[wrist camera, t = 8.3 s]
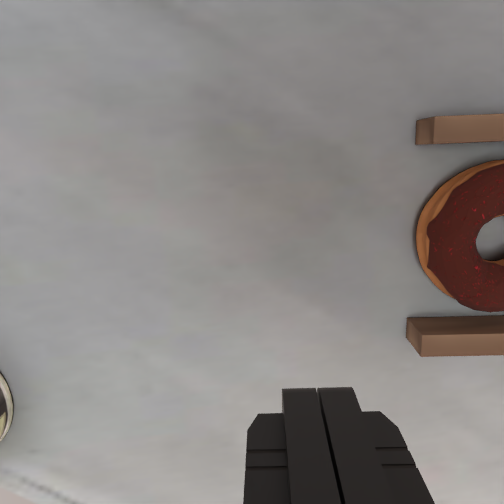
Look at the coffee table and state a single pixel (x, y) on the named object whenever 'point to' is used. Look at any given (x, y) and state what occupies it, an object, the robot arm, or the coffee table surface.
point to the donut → (464, 237)
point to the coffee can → (5, 408)
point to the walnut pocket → (464, 327)
